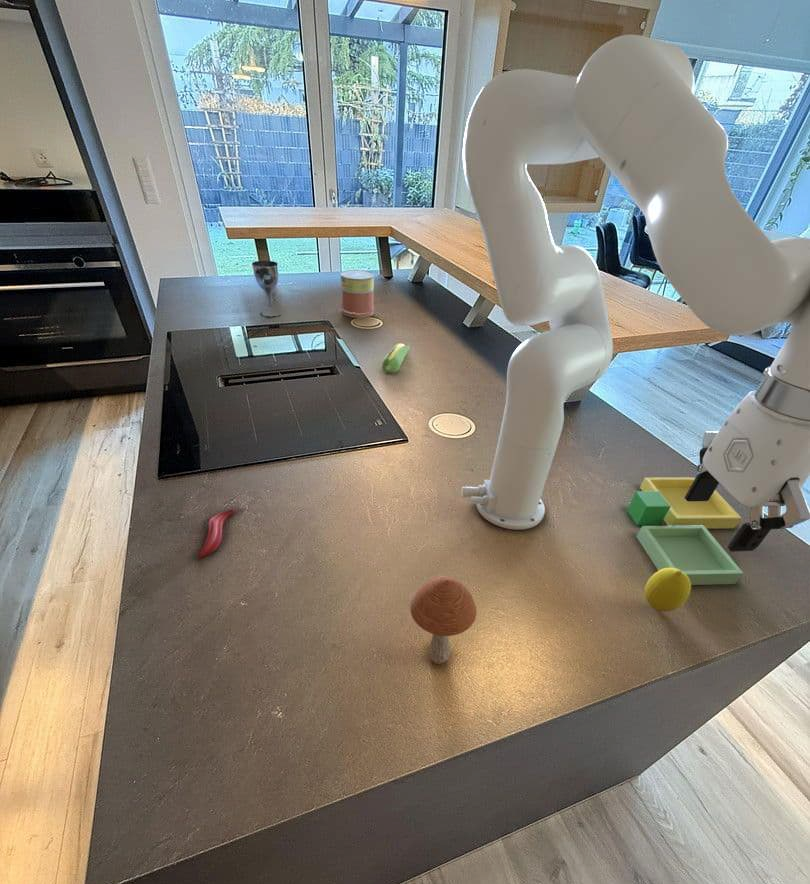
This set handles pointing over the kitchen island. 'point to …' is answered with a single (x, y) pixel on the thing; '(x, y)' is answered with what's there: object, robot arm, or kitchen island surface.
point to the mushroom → (443, 613)
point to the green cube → (648, 508)
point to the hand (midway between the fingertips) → (716, 523)
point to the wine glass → (266, 276)
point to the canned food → (357, 292)
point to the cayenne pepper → (214, 532)
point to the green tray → (689, 553)
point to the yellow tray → (691, 505)
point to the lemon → (668, 589)
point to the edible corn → (395, 358)
